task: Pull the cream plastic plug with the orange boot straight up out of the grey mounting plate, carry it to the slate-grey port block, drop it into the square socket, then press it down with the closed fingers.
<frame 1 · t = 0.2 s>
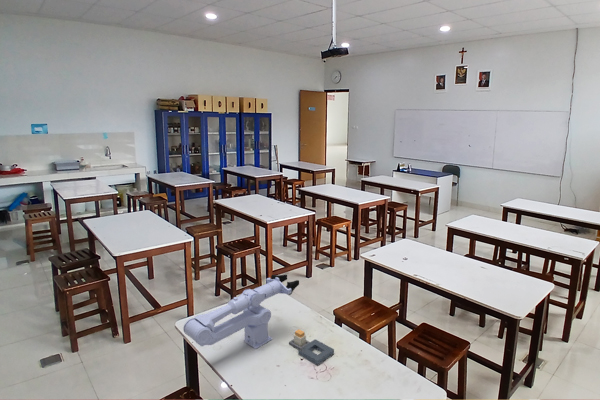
hand: (292, 279, 170), 21 cm above the table, tool horizontal, fingers open, 7 cm apart
grey mounting plate: (299, 344, 158), on the table
plug: (299, 338, 158), in the grey mounting plate
port block: (316, 354, 152), on the table
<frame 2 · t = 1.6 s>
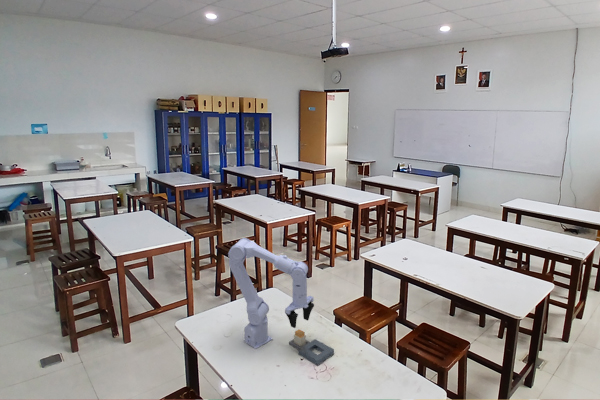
hand: (299, 323, 156), 10 cm above the table, tool pointing down, fingers open, 7 cm apart
nothing on the table moved.
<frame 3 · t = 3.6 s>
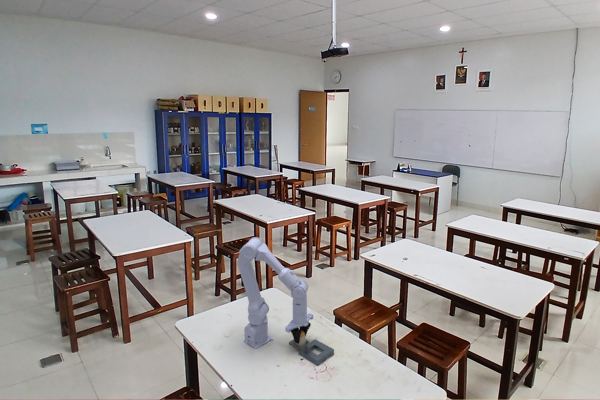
hand: (299, 340, 158), 2 cm above the table, tool pointing down, fingers closed on plug, 3 cm apart
plug: (299, 338, 158), in the grey mounting plate, touching gripper
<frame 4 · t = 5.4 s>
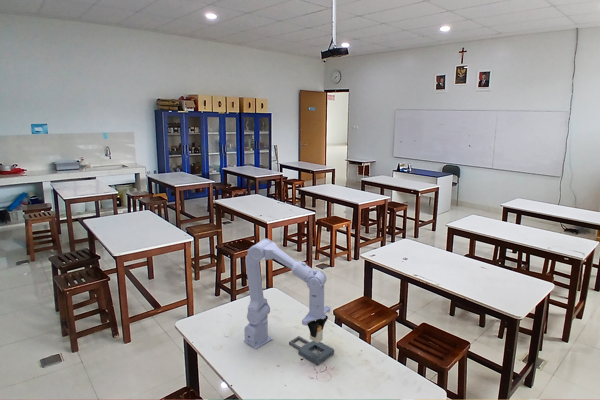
hand: (316, 334, 150), 9 cm above the table, tool pointing down, fingers closed on plug, 3 cm apart
plug: (316, 332, 150), point 10 cm above the table, touching gripper
when the fingers open (3 cm above the table, at t = 7.4 s): plug stays where it is, resting in port block.
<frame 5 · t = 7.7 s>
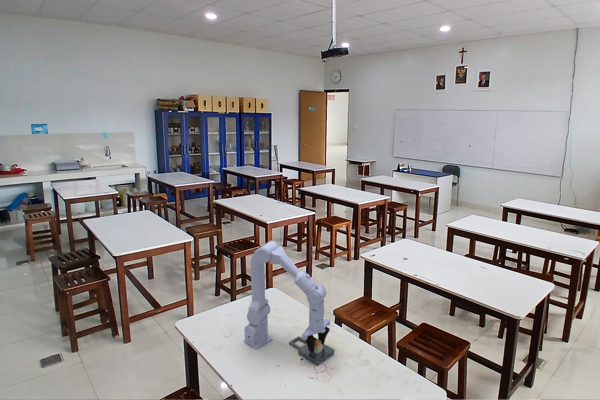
hand: (316, 347, 152), 3 cm above the table, tool pointing down, fingers open, 5 cm apart
plug: (316, 347, 152), in the port block
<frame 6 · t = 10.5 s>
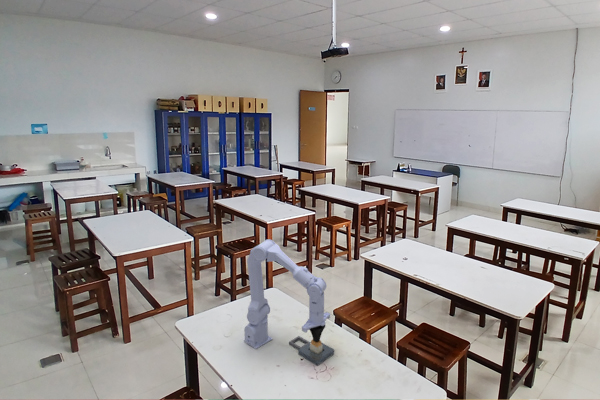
hand: (316, 340, 151), 6 cm above the table, tool pointing down, fingers closed, pressing on plug
plug: (316, 347, 152), in the port block, touching gripper
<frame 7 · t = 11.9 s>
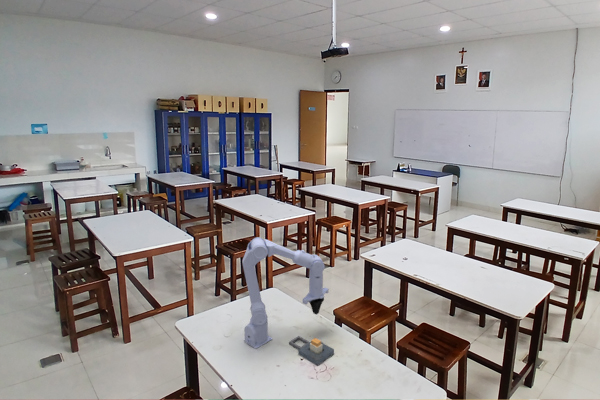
hand: (315, 313, 165), 9 cm above the table, tool pointing down, fingers closed
plug: (316, 347, 152), in the port block
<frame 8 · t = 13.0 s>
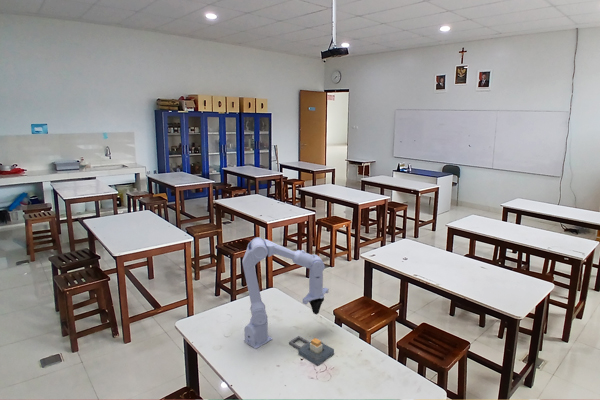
hand: (315, 313, 165), 9 cm above the table, tool pointing down, fingers closed
nothing on the table moved.
at the end: plug 0.0 cm off-centre on the port block, point 2.9 cm above the port block's base; plug tilted 0°; the gripper is holding nothing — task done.
